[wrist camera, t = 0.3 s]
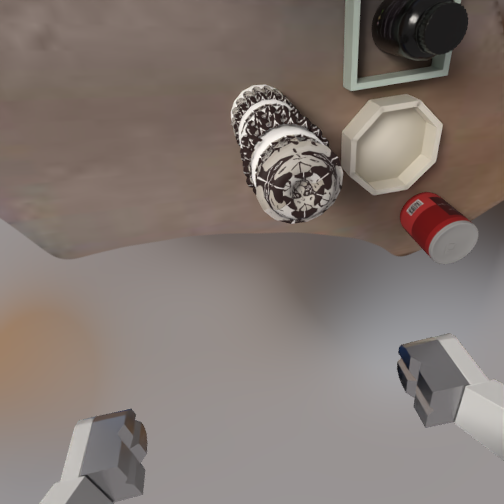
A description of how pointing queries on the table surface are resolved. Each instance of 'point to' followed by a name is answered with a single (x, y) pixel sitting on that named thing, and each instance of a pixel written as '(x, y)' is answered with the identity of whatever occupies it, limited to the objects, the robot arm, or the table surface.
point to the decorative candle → (284, 156)
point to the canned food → (438, 228)
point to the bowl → (390, 143)
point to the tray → (353, 83)
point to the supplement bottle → (419, 27)
